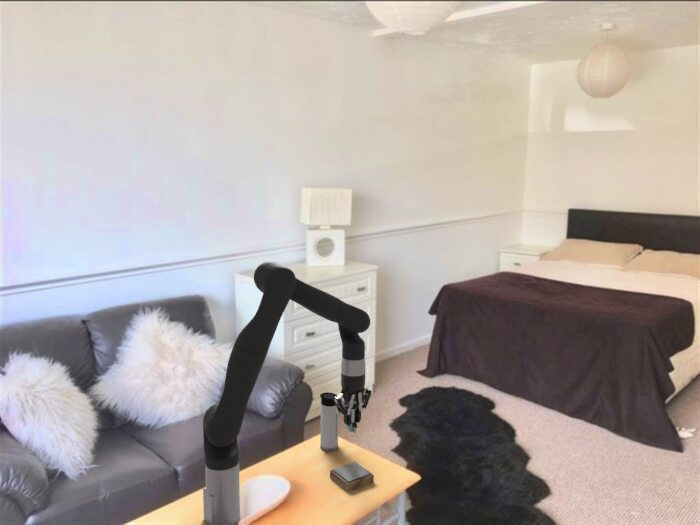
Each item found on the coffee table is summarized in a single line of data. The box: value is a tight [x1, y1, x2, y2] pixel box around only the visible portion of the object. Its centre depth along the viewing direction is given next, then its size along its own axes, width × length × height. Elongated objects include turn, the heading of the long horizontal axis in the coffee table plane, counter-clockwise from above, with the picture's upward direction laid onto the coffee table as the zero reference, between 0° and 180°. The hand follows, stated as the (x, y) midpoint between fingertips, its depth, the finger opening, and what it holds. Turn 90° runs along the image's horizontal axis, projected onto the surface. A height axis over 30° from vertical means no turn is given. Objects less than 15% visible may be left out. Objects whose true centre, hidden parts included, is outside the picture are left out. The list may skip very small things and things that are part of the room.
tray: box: [329, 461, 375, 493], centre depth 180 cm, size 10×10×3 cm
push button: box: [342, 401, 359, 434], centre depth 177 cm, size 7×5×10 cm
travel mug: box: [319, 392, 339, 452], centre depth 200 cm, size 6×7×20 cm
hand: (352, 423), depth 177 cm, fingers closed on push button, 3 cm apart
